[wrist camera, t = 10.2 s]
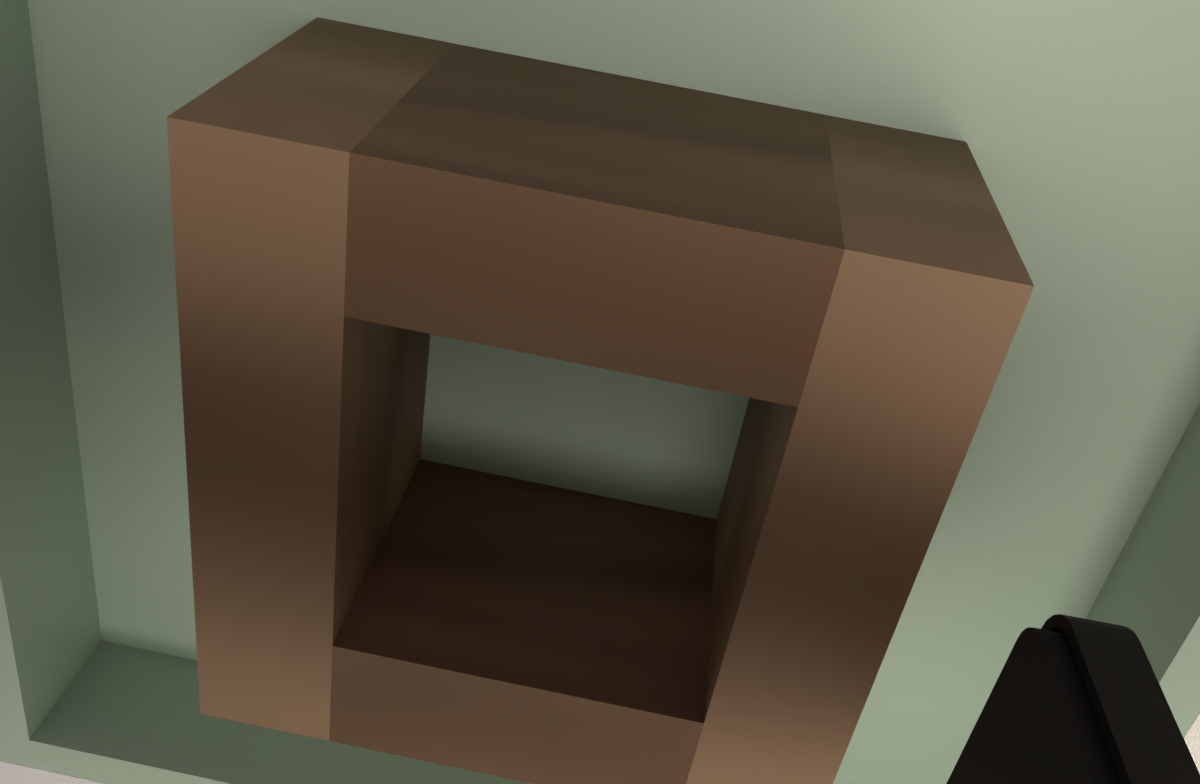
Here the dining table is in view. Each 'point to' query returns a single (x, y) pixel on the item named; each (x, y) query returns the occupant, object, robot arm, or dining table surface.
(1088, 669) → the robot arm
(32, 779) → the dining table surface
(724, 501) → the wooden square frame
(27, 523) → the green rectangular frame
